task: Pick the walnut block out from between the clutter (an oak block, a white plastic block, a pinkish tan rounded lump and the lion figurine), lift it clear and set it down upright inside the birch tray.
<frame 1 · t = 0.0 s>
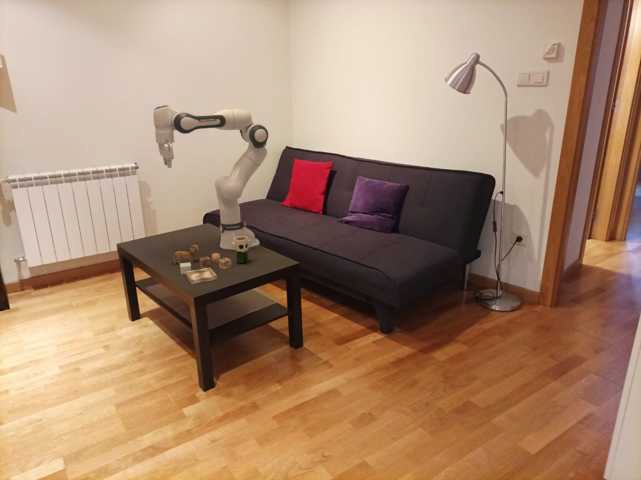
hand: (168, 166, 248), 48 cm above the table, fingers open, 8 cm apart
walnut block: (205, 267, 244), on the table
character mug: (242, 262, 251), on the table
birch tray: (201, 277, 232), on the table
pinkish tan rounded lump: (216, 261, 252), on the table
oak block: (225, 267, 245), on the table
white plastic block: (186, 272, 239), on the table
lion figurine: (186, 262, 251), on the table
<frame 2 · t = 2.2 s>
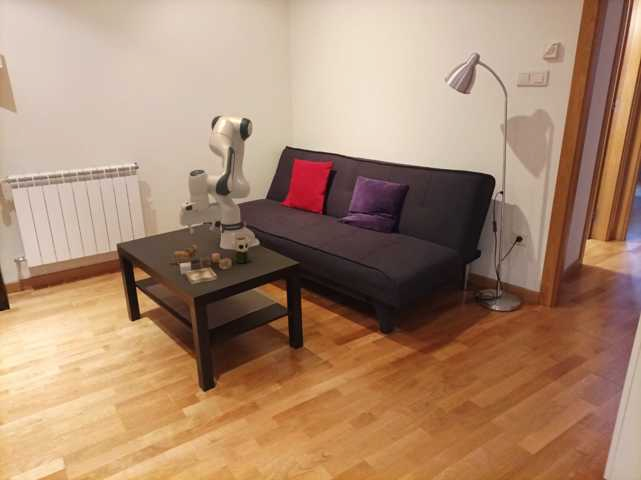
hand: (202, 231, 238), 19 cm above the table, fingers open, 8 cm apart
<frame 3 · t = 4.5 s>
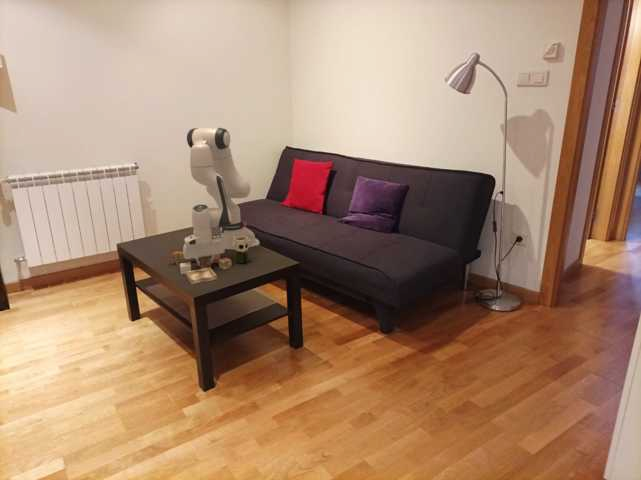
hand: (205, 264, 244), 2 cm above the table, fingers closed on walnut block, 4 cm apart
walnut block: (205, 267, 244), on the table, touching gripper
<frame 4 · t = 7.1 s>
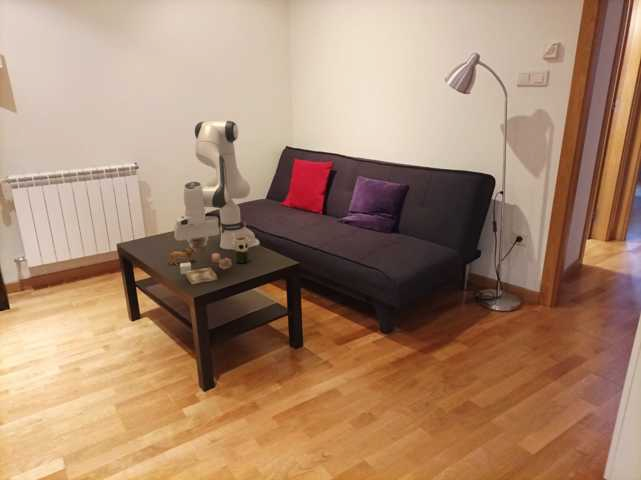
hand: (198, 246, 227), 16 cm above the table, fingers closed on walnut block, 4 cm apart
walnut block: (198, 250, 227), point 14 cm above the table, touching gripper
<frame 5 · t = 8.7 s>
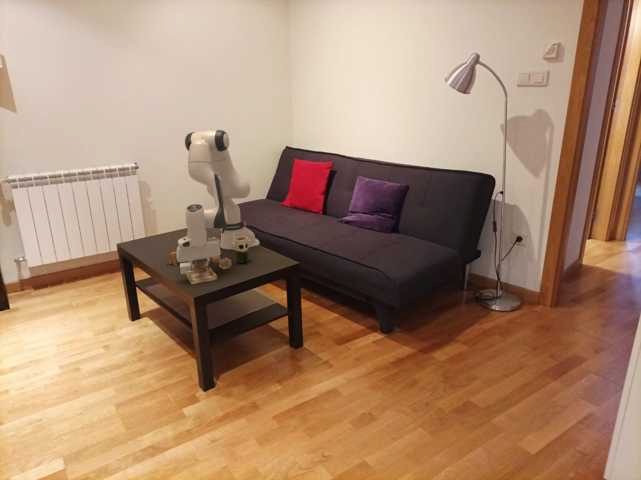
hand: (200, 267, 230), 5 cm above the table, fingers closed on walnut block, 4 cm apart
walnut block: (200, 271, 231), point 3 cm above the table, touching gripper
when the fingers open (3 cm above the table, at t = 9.9 s): walnut block stays where it is, resting on birch tray.
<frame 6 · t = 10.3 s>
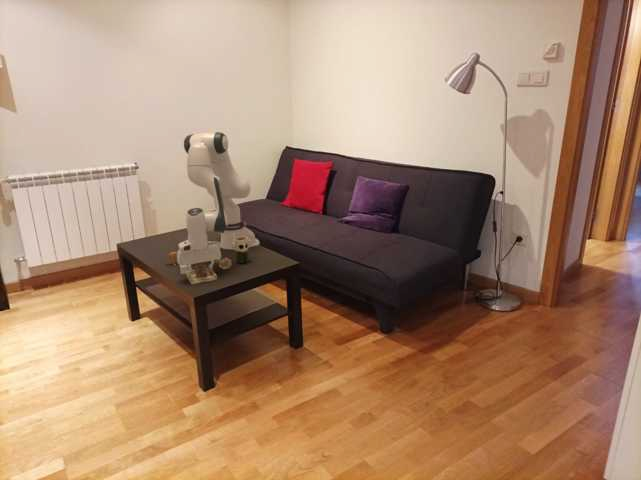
hand: (200, 270, 231), 3 cm above the table, fingers open, 8 cm apart
walnut block: (201, 276, 232), point 1 cm above the table, touching birch tray
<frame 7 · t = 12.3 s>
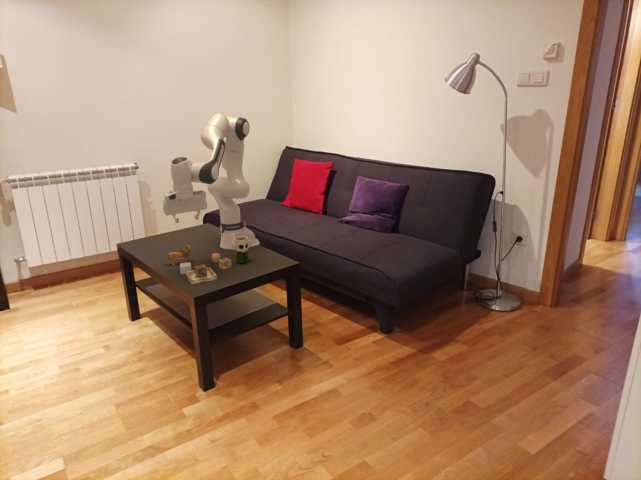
hand: (187, 220, 232), 26 cm above the table, fingers open, 8 cm apart
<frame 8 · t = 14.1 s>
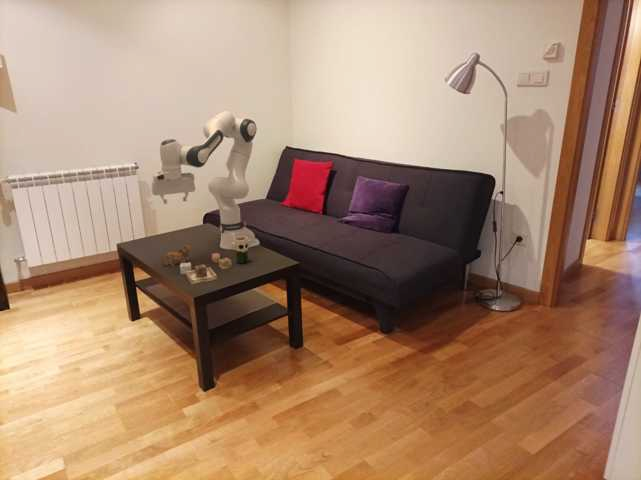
hand: (175, 202, 237), 33 cm above the table, fingers open, 8 cm apart
at the end: walnut block inside the target area on the birch tray (0.0 cm from its centre), point 0.6 cm above the birch tray's base; walnut block tilted 0°; the gripper is holding nothing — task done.
